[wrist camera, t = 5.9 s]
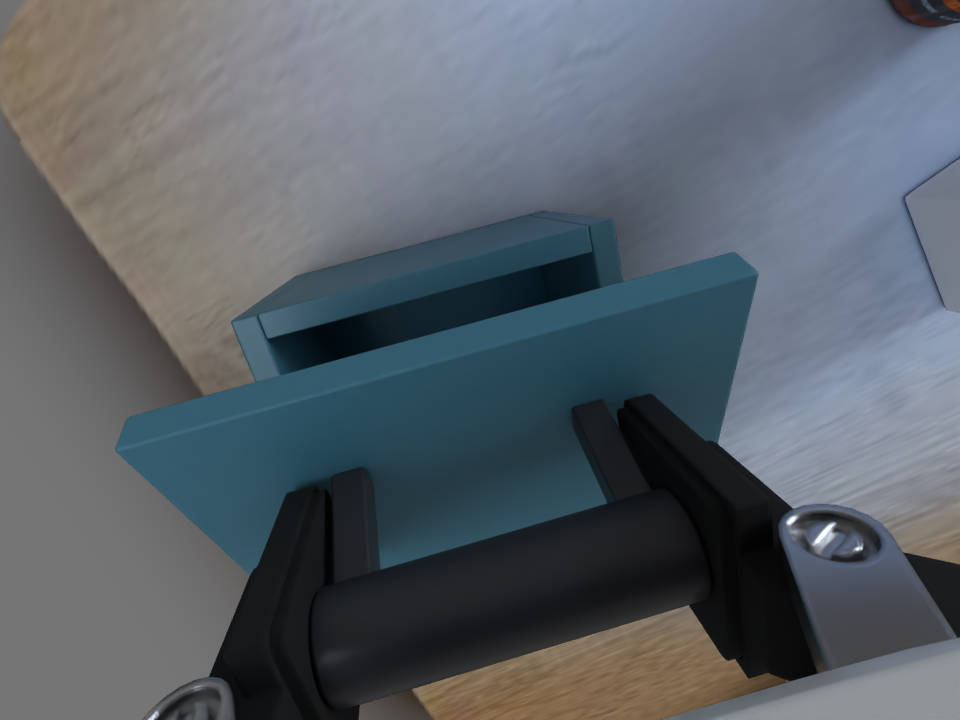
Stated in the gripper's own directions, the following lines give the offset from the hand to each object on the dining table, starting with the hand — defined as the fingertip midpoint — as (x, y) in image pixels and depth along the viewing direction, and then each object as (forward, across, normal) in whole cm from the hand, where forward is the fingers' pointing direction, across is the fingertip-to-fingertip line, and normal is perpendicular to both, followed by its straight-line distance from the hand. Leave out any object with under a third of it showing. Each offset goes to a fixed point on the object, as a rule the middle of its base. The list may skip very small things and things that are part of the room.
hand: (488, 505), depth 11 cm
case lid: (+3, 0, +3) cm, 4 cm away
